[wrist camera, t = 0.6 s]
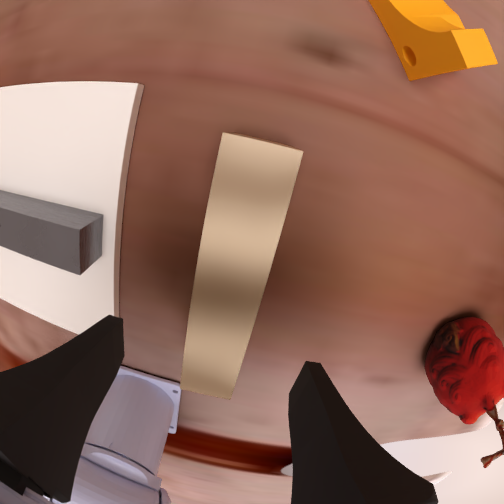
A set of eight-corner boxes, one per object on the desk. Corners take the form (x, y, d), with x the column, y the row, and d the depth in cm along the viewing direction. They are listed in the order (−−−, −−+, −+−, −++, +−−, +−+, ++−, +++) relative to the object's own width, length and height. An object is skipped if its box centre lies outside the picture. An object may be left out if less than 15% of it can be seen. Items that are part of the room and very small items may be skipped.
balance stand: (120, 340, 23) (102, 372, 19) (-13, 283, 22) (-35, 301, 18) (144, 85, 15) (114, 76, 11) (-18, 91, 14) (-48, 93, 10)
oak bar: (235, 352, 23) (230, 399, 18) (193, 342, 23) (179, 388, 18) (291, 146, 16) (303, 151, 12) (234, 132, 16) (222, 132, 12)
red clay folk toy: (435, 377, 24) (486, 492, 10) (403, 353, 22) (464, 497, 8) (487, 326, 21) (561, 431, 7) (464, 292, 20) (563, 418, 6)
